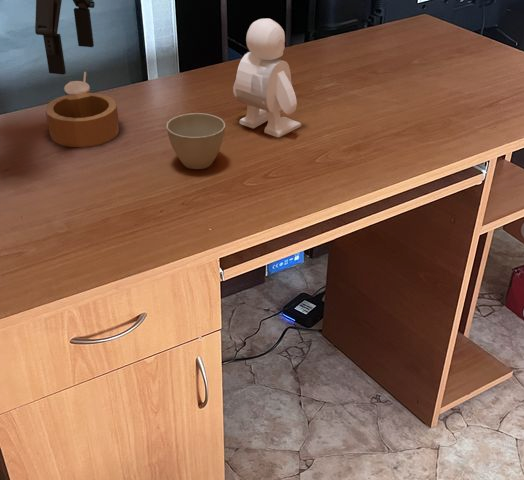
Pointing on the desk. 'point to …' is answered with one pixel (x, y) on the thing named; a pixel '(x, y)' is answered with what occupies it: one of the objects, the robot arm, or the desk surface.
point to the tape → (83, 122)
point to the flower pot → (196, 138)
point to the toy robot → (266, 80)
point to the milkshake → (78, 98)
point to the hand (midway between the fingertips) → (72, 59)
